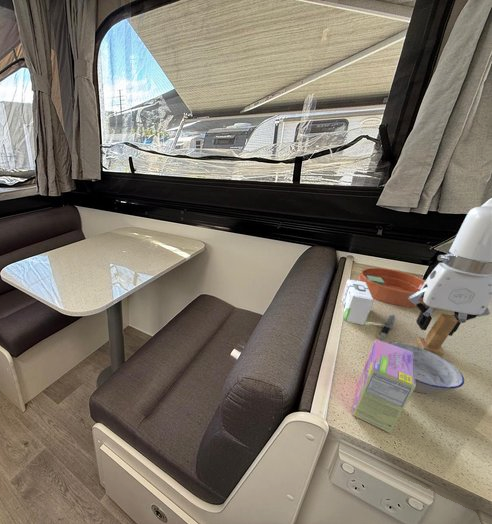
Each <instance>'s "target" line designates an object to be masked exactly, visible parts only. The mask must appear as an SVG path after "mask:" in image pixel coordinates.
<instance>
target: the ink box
mask: <svg viewBox="0 0 492 524" xmlns="http://www.w3.org/2000/svg"><path fill="white" fill-rule="evenodd" d="M341 299H342V301H343V305H344V313H343V317H344V322H348V323H352V324H356V325H360V326H365V325H366V323H367V320H368V319H369V315H370V312H371V309H372V307H373V304H374V302H375V301H374V298H372V295H371V293H370V291H369V289H368V286H367V284H366V282H362V281H358V280H355V279H349V278H348V279H346V283H345V286H344V290H343V292H342V296H341Z"/></svg>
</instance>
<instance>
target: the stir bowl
mask: <svg viewBox="0 0 492 524" xmlns="http://www.w3.org/2000/svg"><path fill="white" fill-rule="evenodd" d="M367 275H368V276H374V277H381V278H382V280H383V281H384V285H383V286H382V285H379V284H377V283H374V282H372V281H371V280H369V279H367V278H366V276H367ZM357 281H362V282H366V284H367V286H368V289H369V291H370V293H371V295H372V298H373V300H374V299H375V300H377V301H380V302H383V303H386V304H389V305H394V306H399V307H403V308H404V307H406V308H418V307H417V306H416V305H414V304H413V303H412V302H410V300H409V299H408V297H409V296H411V295H413V294H415V293H416V292H418V291H420V290H421V288H422V286H423V284H424V282H425V281H426V279H423V278H420V277H418V276H416V275H413V274H410V273H407V272H404V271H401V270H396V269H390V268H383V267H367V268H363V269H362V270H361V271H360V273H359V275H358V278H357ZM419 301H420V302H422V304H423V303H424V302H423V299H420V300H419Z"/></svg>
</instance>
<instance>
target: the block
mask: <svg viewBox="0 0 492 524" xmlns="http://www.w3.org/2000/svg"><path fill="white" fill-rule="evenodd" d="M366 278H367V279H369V280H371V281H372V282H374V283H377V284H379V285H382V286H383V285H384V281H383V280H382V278H381V277H374V276H368V275H367V276H366Z"/></svg>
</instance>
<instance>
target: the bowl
mask: <svg viewBox="0 0 492 524" xmlns="http://www.w3.org/2000/svg"><path fill="white" fill-rule="evenodd" d="M387 343H388V344H391V345H394V346H397V347H400V348H403V349H406V350H409V351H412V352H413V356H414V371H415V384H416V387H415V389H414V390H413V392H417V393H421V394H427V395H431V394H436V393H440V392H444V391H448V390H454V389H458V388H460V387H463V385H464V384H465V377H464V375H463V373H462V372H461V371H460V370H459V369H458V368H457V367H456V366H455V365H454V364H452V363H451V361H449V360H447V359H444V358H443V357H442V356H441V355H438V354H434V353H431V352H429V351H427V350H424V349H422V348H420V346H415V345H412V344H410V343H404V342H397V341H392V342H387Z"/></svg>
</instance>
